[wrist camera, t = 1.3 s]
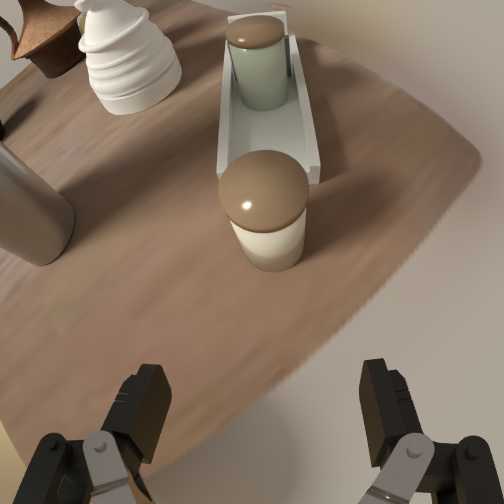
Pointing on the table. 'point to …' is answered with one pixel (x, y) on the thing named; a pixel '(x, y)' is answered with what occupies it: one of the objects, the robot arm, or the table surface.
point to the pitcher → (47, 36)
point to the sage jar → (259, 61)
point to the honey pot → (127, 56)
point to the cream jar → (267, 207)
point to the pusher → (287, 52)
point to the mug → (1, 131)
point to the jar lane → (268, 118)
